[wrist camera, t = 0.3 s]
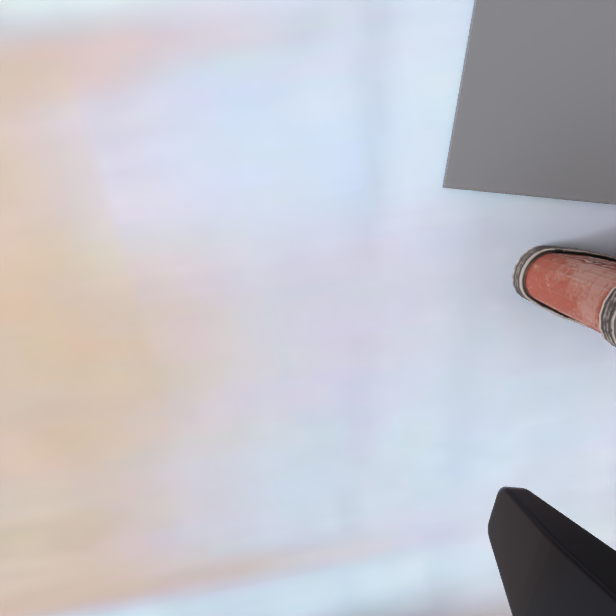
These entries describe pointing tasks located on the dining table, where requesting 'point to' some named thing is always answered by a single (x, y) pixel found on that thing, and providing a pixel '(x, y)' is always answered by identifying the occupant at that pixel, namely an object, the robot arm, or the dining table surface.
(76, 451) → the dining table surface
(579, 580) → the robot arm
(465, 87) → the mat
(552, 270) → the lighter
